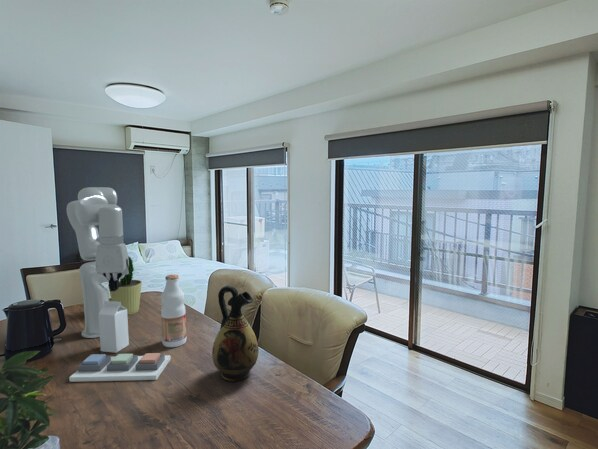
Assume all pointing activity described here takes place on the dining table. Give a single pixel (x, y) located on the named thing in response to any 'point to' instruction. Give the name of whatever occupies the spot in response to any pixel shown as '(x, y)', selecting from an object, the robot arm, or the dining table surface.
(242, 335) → the ceramic jug
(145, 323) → the dining table surface
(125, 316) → the milk carton
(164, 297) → the fruit juice
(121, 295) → the potted cactus
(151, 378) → the button panel
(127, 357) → the sage-green button
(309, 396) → the dining table surface
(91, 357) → the slate-blue button
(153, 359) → the terracotta button
